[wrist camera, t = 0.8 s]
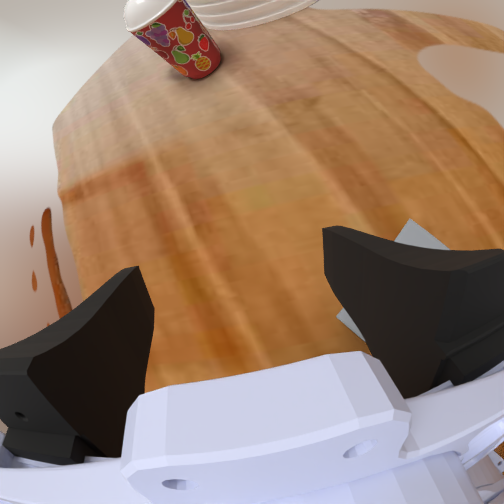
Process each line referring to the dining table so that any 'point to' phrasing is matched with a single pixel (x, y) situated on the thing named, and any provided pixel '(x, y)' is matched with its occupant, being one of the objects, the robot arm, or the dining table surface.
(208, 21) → the plate stack
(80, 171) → the dining table surface
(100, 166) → the dining table surface
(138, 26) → the smoothie
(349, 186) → the dining table surface
